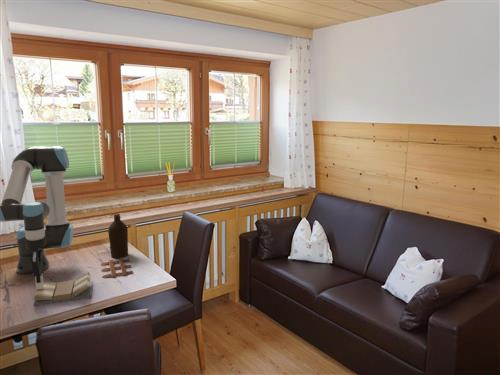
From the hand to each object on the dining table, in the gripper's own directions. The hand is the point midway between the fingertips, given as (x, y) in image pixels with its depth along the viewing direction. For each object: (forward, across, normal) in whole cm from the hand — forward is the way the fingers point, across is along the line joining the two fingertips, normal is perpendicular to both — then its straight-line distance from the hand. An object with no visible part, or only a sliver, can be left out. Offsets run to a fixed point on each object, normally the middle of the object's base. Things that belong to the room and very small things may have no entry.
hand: (39, 288), depth 172 cm
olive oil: (+4, -44, +34) cm, 56 cm away
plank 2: (+1, 0, +18) cm, 18 cm away
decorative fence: (+5, -24, +32) cm, 41 cm away
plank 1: (+3, 0, +2) cm, 3 cm away
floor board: (+5, 0, +10) cm, 11 cm away
